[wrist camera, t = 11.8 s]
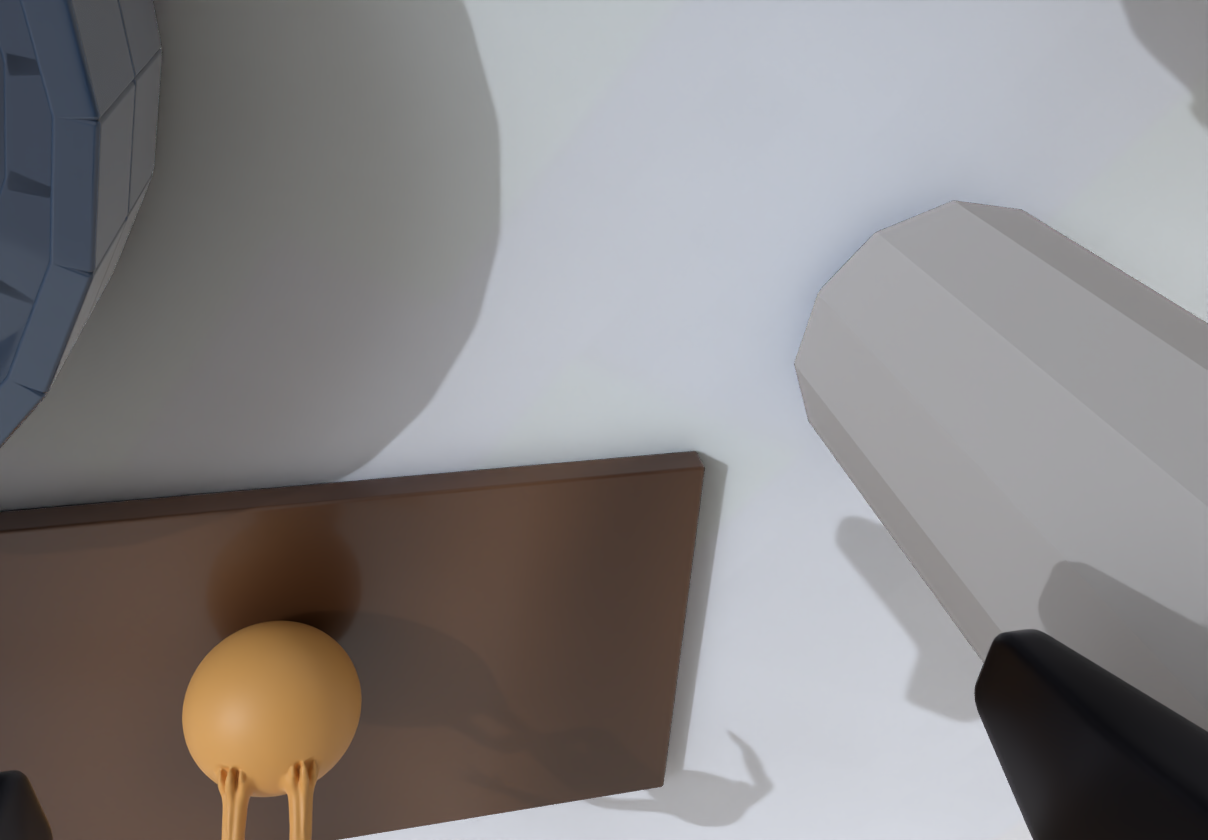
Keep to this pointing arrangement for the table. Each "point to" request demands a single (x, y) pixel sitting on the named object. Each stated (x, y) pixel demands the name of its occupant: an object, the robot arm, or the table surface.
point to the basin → (67, 174)
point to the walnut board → (356, 641)
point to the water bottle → (1026, 436)
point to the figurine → (271, 718)
